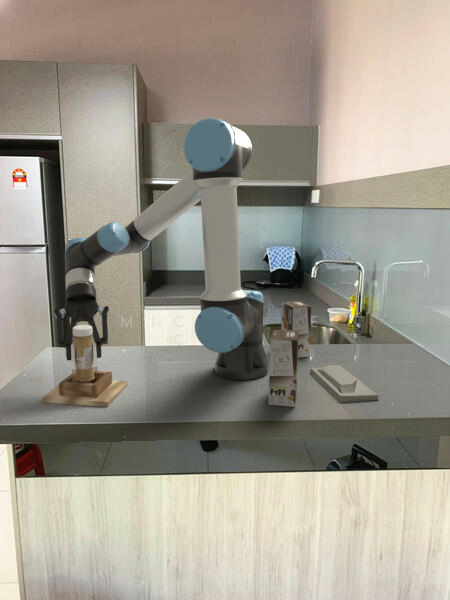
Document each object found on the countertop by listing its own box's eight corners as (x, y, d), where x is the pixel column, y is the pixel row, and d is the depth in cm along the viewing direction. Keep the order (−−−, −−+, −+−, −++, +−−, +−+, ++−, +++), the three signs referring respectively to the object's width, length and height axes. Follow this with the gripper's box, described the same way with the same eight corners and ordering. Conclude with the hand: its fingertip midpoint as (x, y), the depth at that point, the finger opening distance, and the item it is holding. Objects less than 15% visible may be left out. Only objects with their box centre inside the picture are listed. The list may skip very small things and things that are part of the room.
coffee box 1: (310, 357, 142) (312, 306, 139) (291, 358, 140) (292, 307, 137) (297, 348, 151) (299, 300, 147) (279, 350, 149) (280, 301, 146)
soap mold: (338, 405, 109) (339, 391, 108) (308, 375, 128) (309, 363, 127) (378, 402, 110) (379, 388, 110) (343, 373, 130) (344, 361, 129)
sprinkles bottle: (72, 379, 113) (68, 326, 110) (88, 374, 116) (85, 323, 113) (82, 384, 110) (79, 330, 107) (99, 379, 113) (96, 326, 110)
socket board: (127, 385, 119) (126, 370, 118) (107, 406, 106) (107, 389, 105) (68, 382, 121) (67, 366, 120) (42, 402, 108) (41, 385, 107)
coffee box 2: (295, 407, 106) (298, 340, 103) (267, 405, 107) (269, 338, 104) (297, 392, 115) (299, 329, 111) (271, 390, 116) (273, 328, 113)
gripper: (114, 296, 126) (121, 373, 114) (47, 299, 121) (47, 380, 109) (115, 280, 120) (122, 360, 108) (44, 282, 115) (43, 367, 103)
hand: (84, 370), depth 109 cm, fingers closed on sprinkles bottle, 4 cm apart
